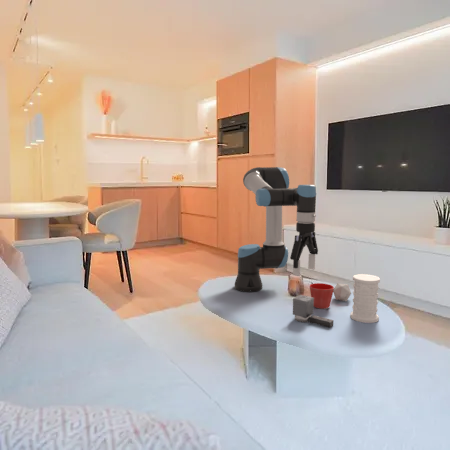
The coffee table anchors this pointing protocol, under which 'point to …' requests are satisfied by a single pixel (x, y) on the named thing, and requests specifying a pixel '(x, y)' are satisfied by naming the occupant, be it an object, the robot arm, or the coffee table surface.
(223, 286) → the coffee table surface
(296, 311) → the grey wood-grain cube
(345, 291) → the die
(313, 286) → the flower pot
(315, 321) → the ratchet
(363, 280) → the decorative container
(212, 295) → the coffee table surface
